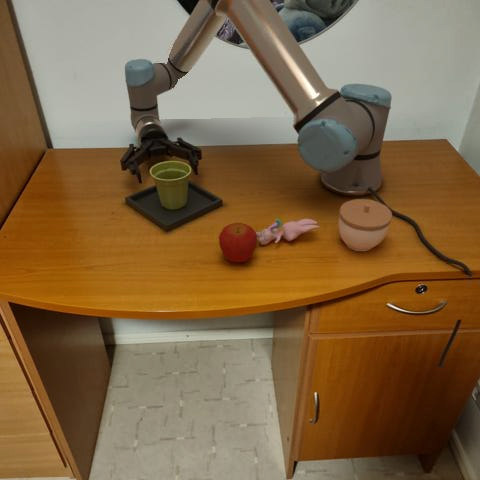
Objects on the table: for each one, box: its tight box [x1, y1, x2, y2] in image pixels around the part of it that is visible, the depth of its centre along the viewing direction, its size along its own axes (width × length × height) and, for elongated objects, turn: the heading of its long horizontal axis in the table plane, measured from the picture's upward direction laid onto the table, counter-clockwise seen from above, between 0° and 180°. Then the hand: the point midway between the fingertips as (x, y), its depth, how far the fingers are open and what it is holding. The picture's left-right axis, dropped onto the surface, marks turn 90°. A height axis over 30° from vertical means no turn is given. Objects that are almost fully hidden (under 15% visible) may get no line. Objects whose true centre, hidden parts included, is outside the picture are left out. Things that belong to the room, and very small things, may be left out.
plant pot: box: [149, 160, 192, 210], centre depth 113 cm, size 9×9×9 cm
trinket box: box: [337, 198, 393, 252], centre depth 101 cm, size 11×11×9 cm
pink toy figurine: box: [255, 218, 321, 246], centre depth 104 cm, size 6×6×15 cm
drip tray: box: [124, 179, 224, 233], centre depth 115 cm, size 17×17×2 cm
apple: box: [218, 222, 258, 264], centre depth 98 cm, size 8×8×8 cm
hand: (168, 174), depth 114 cm, fingers open, 13 cm apart
